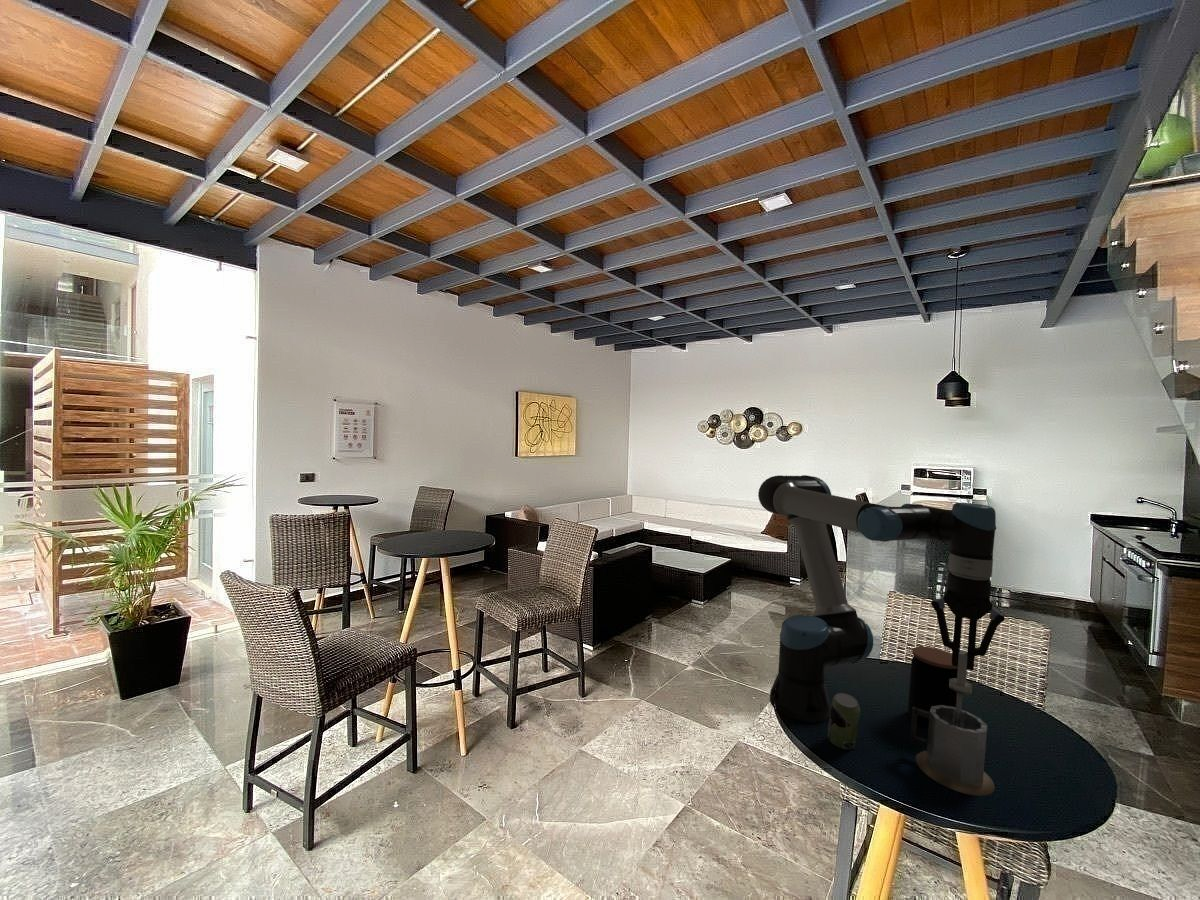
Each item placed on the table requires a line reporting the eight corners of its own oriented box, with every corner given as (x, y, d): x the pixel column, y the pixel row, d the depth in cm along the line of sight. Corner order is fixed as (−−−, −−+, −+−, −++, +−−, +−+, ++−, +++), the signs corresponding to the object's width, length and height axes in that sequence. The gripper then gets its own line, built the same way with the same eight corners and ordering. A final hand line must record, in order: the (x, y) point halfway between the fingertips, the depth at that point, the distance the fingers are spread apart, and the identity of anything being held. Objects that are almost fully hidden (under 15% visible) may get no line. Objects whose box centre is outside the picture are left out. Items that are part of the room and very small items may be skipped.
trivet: (911, 774, 106) (911, 772, 106) (920, 744, 116) (920, 742, 116) (993, 809, 97) (994, 806, 97) (995, 773, 107) (995, 770, 107)
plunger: (936, 740, 106) (940, 682, 105) (939, 727, 111) (943, 672, 110) (974, 754, 101) (979, 694, 101) (975, 740, 106) (980, 683, 106)
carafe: (905, 764, 108) (909, 712, 107) (912, 743, 116) (915, 694, 115) (981, 795, 99) (986, 738, 99) (983, 771, 107) (987, 718, 106)
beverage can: (847, 736, 118) (850, 688, 118) (863, 757, 111) (866, 705, 110) (821, 735, 118) (824, 687, 118) (835, 755, 111) (838, 704, 110)
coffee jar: (965, 739, 119) (971, 668, 119) (917, 732, 121) (923, 662, 121) (944, 715, 130) (949, 649, 129) (900, 708, 132) (905, 643, 131)
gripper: (930, 571, 106) (923, 677, 107) (1008, 586, 98) (999, 700, 98) (934, 565, 112) (927, 665, 113) (1008, 578, 103) (1000, 686, 104)
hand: (961, 682), depth 105 cm, fingers closed
